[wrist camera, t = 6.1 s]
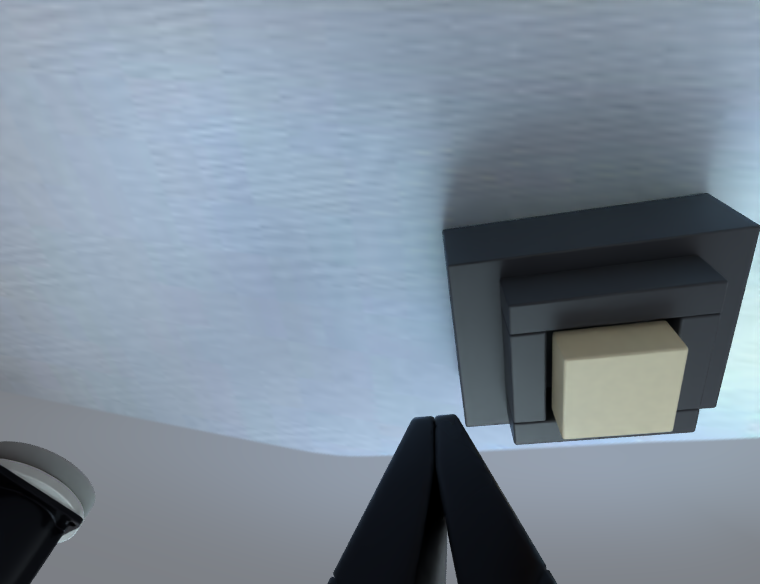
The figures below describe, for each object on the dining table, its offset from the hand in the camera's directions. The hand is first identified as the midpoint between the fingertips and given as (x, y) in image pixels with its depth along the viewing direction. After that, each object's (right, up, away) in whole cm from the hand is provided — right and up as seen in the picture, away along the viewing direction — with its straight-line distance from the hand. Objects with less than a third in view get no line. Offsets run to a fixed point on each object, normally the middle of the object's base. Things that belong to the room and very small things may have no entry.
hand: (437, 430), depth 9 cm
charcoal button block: (+7, +2, +11) cm, 13 cm away
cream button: (+7, 0, +7) cm, 10 cm away
